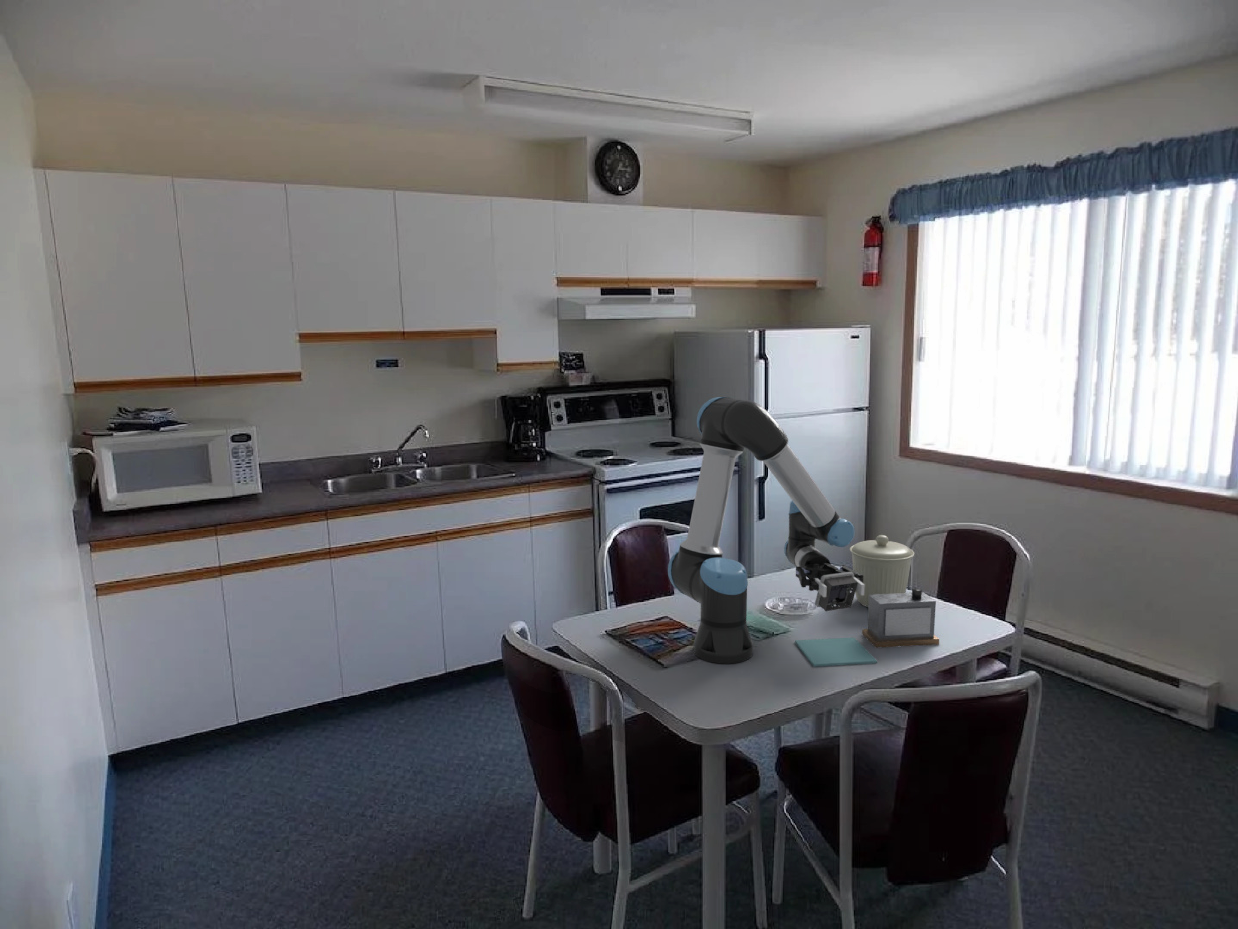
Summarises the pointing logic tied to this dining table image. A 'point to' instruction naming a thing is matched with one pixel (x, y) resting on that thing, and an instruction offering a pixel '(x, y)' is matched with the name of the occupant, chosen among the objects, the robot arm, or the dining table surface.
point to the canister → (881, 566)
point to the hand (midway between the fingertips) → (844, 591)
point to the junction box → (901, 619)
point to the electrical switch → (837, 591)
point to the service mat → (835, 652)
